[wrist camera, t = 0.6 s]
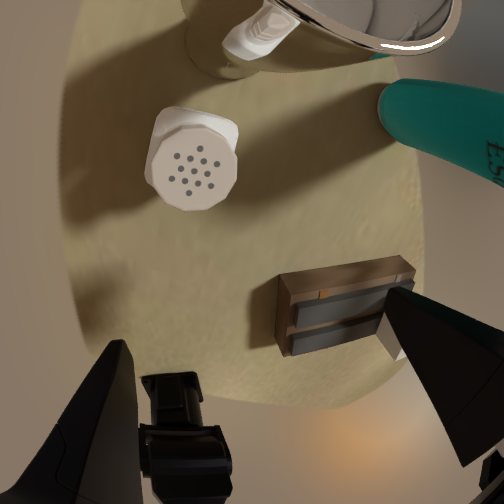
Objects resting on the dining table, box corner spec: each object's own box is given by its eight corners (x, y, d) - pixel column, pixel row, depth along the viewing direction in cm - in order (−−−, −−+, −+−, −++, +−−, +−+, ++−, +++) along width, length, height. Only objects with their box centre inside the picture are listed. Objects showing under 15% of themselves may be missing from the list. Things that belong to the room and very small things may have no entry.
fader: (408, 284, 26) (438, 315, 22) (395, 320, 28) (419, 350, 24) (383, 291, 25) (413, 325, 21) (370, 328, 28) (394, 361, 24)
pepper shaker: (165, 104, 16) (152, 106, 8) (224, 116, 17) (263, 131, 10) (152, 160, 18) (131, 213, 10) (208, 171, 19) (232, 230, 11)
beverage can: (392, 153, 22) (538, 231, 9) (358, 102, 19) (538, 151, 6) (426, 116, 20) (566, 170, 8) (398, 66, 18) (561, 93, 5)
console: (399, 255, 28) (421, 274, 25) (381, 310, 32) (397, 330, 29) (279, 274, 25) (294, 301, 22) (274, 336, 29) (285, 363, 26)
